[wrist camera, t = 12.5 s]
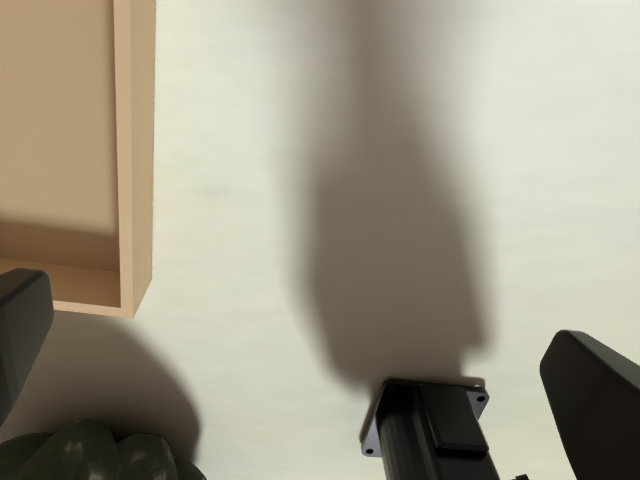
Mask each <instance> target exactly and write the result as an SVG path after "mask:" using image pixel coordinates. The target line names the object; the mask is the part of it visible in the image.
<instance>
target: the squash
mask: <svg viewBox="0 0 640 480" xmlns="http://www.w3.org/2000/svg"><path fill="white" fill-rule="evenodd" d="M0 480H207V479H206V477H205V476H204V475H203V474H202V473H201V471H200V470H199V469H198V468H197V467H196V466H195V465H193V464H192V463H190V462H189V461H186V460H183V459H180V458H174V457H173V455H172V452H171V450H170V447H169V445H168V443H167V442H166V440H164V439H163V438H162V437H160V436H159V435H151V434H142V433H141V434H136V435H132V436H129V437H126V438H124V439H123V440H121V441H120V442H119V443H118V444H116V443H115V440H114V438H113V435H112V434H111V432H110V431H109V430H108V429H107V428H106V426H105V425H103V424H101V423H100V422H95V421H92V420H79V421H76V422H73V423H70V424H68V425H67V426H65V427H63V428H61V429H60V430H59V431H57V432H56V433H55V434H51V433H31V434H26V435H21V436H18V437H16V438H13V439H11V440H8V441H6V442H3V443H1V444H0Z"/></svg>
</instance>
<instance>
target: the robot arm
mask: <svg viewBox="0 0 640 480" xmlns="http://www.w3.org/2000/svg"><path fill="white" fill-rule="evenodd" d="M53 317H54V306H53V298H52V290H51V282H50V277H49V275H48V273H47V272H46V271H44V270H40V269H32V268H23V267H20V268H15V269H13V270H10V271H8V272H5V273H3V274H0V429H1V427H2V426H3V424H4V422H5V420H6V419H7V417H8V415H9V413H10V412H11V410H12V408H13V406H14V404H15V402H16V400H17V398H18V396H19V394H20V392H21V390H22V388H23V386H24V383H25V381H26V379H27V377H28V375H29V373H30V370H31V368H32V366H33V364H34V362H35V360H36V357H37V355H38V353H39V351H40V349H41V347H42V344H43V342H44V340H45V338H46V336H47V334H48V331H49V329H50V327H51V325H52V322H53ZM540 376H541V379H542V382H543V385H544V388H545V391H546V394H547V397H548V401H549V404H550V407H551V410H552V413H553V416H554V419H555V422H556V425H557V429H558V432H559V435H560V438H561V441H562V444H563V446H564V449H565V452H566V455H567V457H568V460H569V462H570V464H571V467H572V469H573V472H574V474H575V476H576V478H577V480H640V366H639V365H637V364H636V363H634V362H632V361H631V360H629V359H627V358H626V357H624V356H622V355H621V354H619V353H617V352H616V351H614V350H613V349H611V348H609V347H608V346H606V345H604V344H603V343H601V342H599V341H598V340H596V339H594V338H593V337H591V336H589V335H588V334H586V333H584V332H581V331H572V330H560V331H559V332H557V333H556V334H555V336H554V338H553V340H552V341H551V343H550V345H549V347H548V349H547V351H546V353H545V354H544V356H543V358H542V360H541V363H540ZM391 387H393V388H391ZM488 400H489V395H488V393H487V391H486V390H485V389H484V388H478V387H468V386H458V385H449V384H439V383H429V382H419V381H409V380H400V379H388V380H386V381H385V382H384V383H383V385H382V388H381V391H380V393H379V396H378V399H377V402H376V405H375V408H374V411H373V413H372V416H371V419H370V422H369V425H368V428H367V430H366V433H365V436H364V439H363V442H362V445H361V449H362V454H363V455H365V456H369V457H382V459H383V464H384V470H385V475H386V480H500V477H499V475H498V473H497V470H496V468H495V465H494V463H493V461H492V458H491V456H490V453H489V446H488V443H487V441H486V439H485V436H484V434H483V432H482V429H481V427H480V424H479V422H478V420H479V418H480V416H481V414H482V412H483V410H484V408H485V406H486V404H487V402H488ZM515 478H516V479H512V480H529V479H528V477H527V475H526V474H523V475H519V476H516V477H515Z"/></svg>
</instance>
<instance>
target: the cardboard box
mask: <svg viewBox="0 0 640 480" xmlns="http://www.w3.org/2000/svg"><path fill="white" fill-rule="evenodd" d="M155 16H156V0H0V274H3V273H5V272H8V271H10V270H13V269H15V268H20V267H23V268H32V269H40V270H44V271H46V272H47V273H48V275H49V277H50V282H51V290H52V298H53V306H54V310H62V311H71V312H80V313H89V314H98V315H107V316H116V317H125V318H134V315H135V313H136V311H137V309H138V307H139V305H140V303H141V301H142V299H143V297H144V295H145V293H146V290H147V288H148V286H149V284H150V282H151V280H152V219H153V151H154V83H155Z"/></svg>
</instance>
